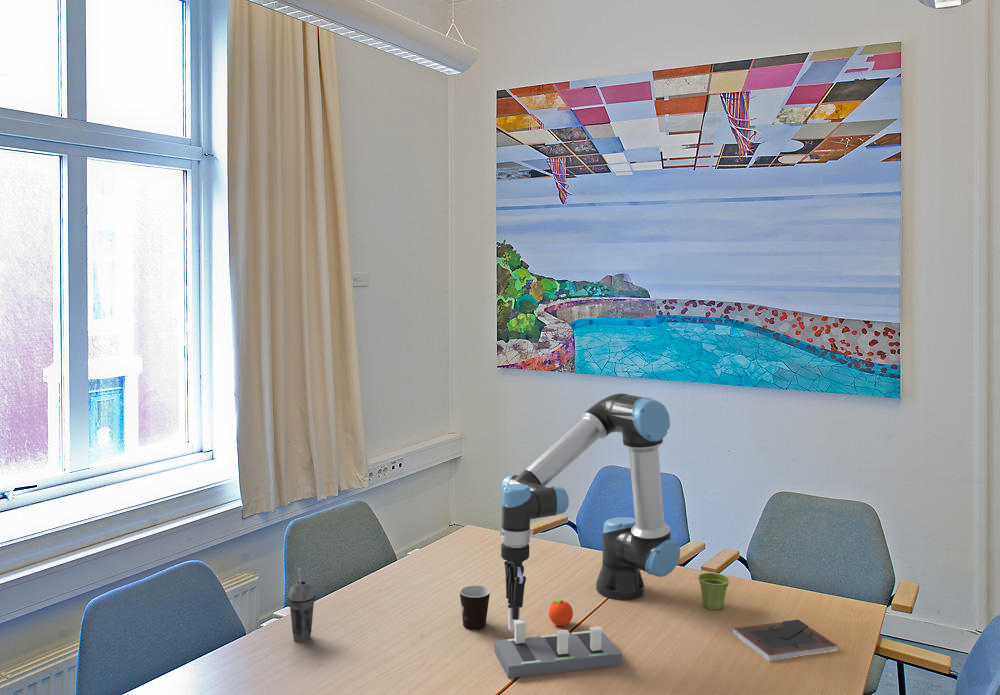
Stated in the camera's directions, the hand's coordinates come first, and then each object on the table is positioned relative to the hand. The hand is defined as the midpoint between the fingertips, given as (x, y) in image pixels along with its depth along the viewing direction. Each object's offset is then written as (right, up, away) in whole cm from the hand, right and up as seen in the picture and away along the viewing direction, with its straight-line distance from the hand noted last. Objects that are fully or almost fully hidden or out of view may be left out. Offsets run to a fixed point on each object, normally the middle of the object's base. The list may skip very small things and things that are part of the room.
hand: (513, 629), depth 208 cm
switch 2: (+21, -2, -9) cm, 23 cm away
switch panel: (+11, -5, -7) cm, 14 cm away
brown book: (+74, -6, +5) cm, 75 cm away
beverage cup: (-57, -4, +2) cm, 58 cm away
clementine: (+13, -4, +13) cm, 19 cm away
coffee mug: (-11, -3, +13) cm, 17 cm away
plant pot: (+61, -3, +28) cm, 67 cm away
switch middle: (+12, -2, -11) cm, 16 cm away
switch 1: (+1, -1, -5) cm, 6 cm away
